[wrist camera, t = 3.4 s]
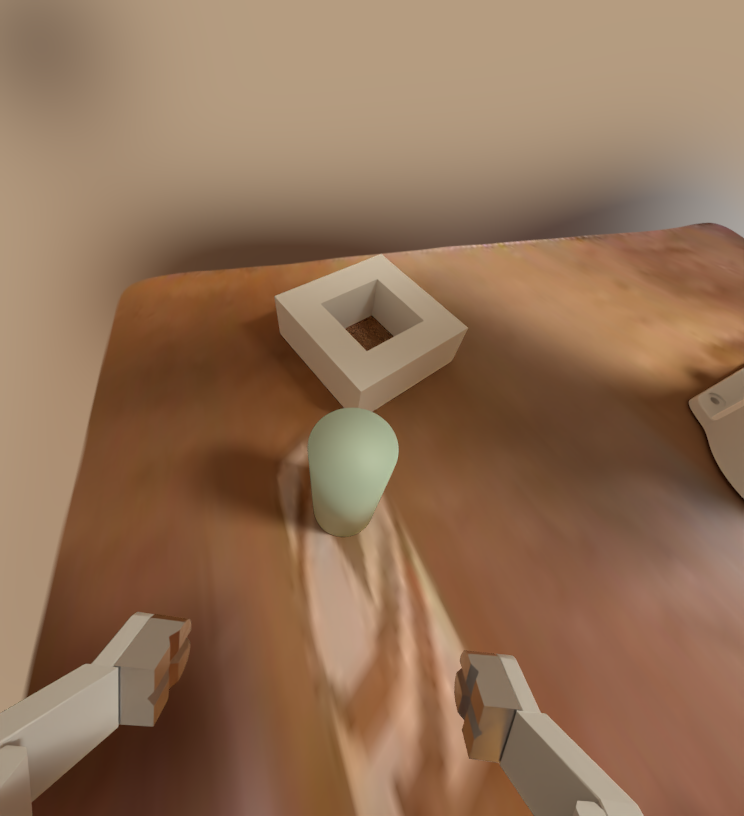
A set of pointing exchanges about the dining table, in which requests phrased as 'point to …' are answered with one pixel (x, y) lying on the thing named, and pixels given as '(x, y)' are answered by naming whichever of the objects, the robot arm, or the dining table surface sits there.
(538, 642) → the dining table surface
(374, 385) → the well block
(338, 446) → the green dowel
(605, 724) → the dining table surface
